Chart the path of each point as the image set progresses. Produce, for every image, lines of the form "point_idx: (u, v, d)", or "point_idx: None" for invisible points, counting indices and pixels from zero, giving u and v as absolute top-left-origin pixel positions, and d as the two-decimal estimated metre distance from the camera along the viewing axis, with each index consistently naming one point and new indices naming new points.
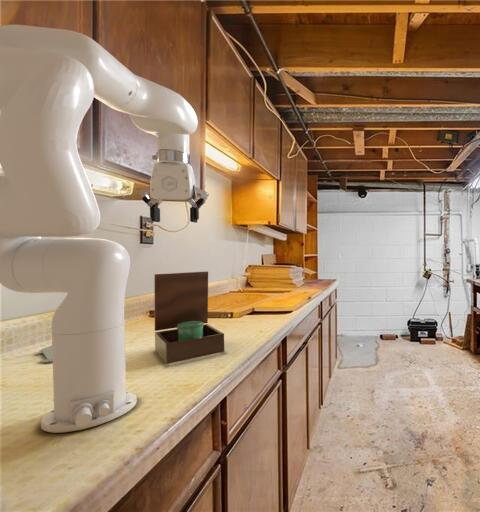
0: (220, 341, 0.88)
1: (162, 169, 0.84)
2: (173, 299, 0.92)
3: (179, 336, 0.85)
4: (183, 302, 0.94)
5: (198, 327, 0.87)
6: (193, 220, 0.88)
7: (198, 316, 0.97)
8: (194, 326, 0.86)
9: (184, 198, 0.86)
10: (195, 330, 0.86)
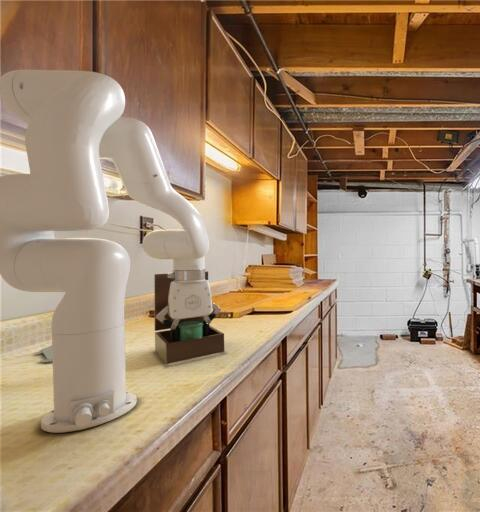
0: (220, 341, 0.88)
1: (185, 289, 0.84)
2: None
3: (179, 336, 0.85)
4: None
5: (198, 327, 0.87)
6: None
7: None
8: (194, 326, 0.86)
9: (207, 314, 0.88)
10: (195, 330, 0.86)
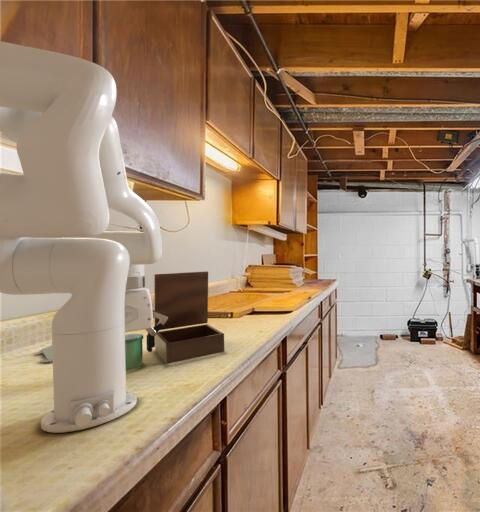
0: (220, 341, 0.88)
1: None
2: (173, 299, 0.92)
3: None
4: (183, 302, 0.94)
5: (135, 341, 0.76)
6: (151, 349, 0.80)
7: (198, 316, 0.97)
8: (129, 340, 0.75)
9: (146, 327, 0.77)
10: (131, 345, 0.75)
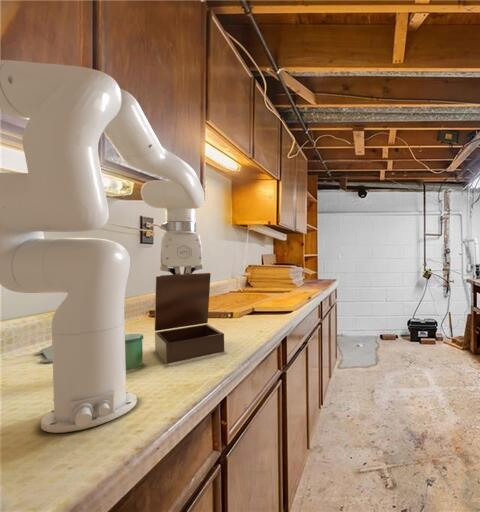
0: (220, 341, 0.88)
1: (176, 238, 0.90)
2: (174, 300, 0.91)
3: None
4: (184, 304, 0.93)
5: (135, 341, 0.76)
6: None
7: (198, 317, 0.97)
8: (129, 340, 0.75)
9: (197, 264, 0.94)
10: (131, 345, 0.75)
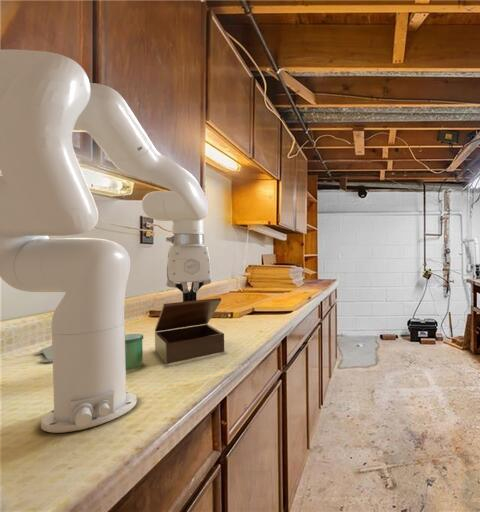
0: (220, 341, 0.88)
1: (184, 252, 0.85)
2: (179, 316, 0.87)
3: None
4: (188, 317, 0.90)
5: (135, 341, 0.76)
6: None
7: (200, 321, 0.96)
8: (129, 340, 0.75)
9: (206, 279, 0.89)
10: (131, 345, 0.75)
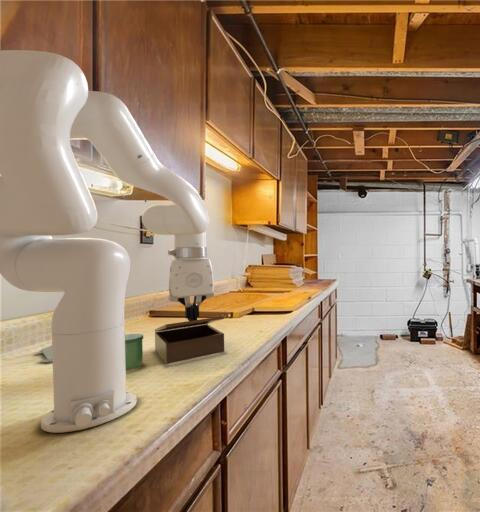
0: (220, 341, 0.88)
1: (186, 266, 0.83)
2: (180, 326, 0.87)
3: None
4: (189, 325, 0.89)
5: (135, 341, 0.76)
6: None
7: (200, 324, 0.96)
8: (129, 340, 0.75)
9: (209, 293, 0.87)
10: (131, 345, 0.75)
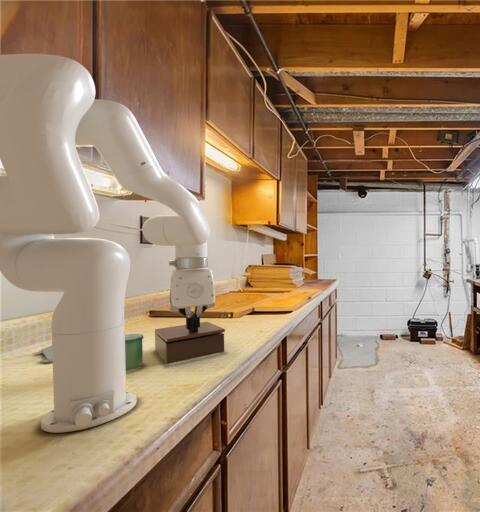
0: (220, 341, 0.88)
1: (187, 277, 0.82)
2: None
3: None
4: None
5: (135, 341, 0.76)
6: None
7: None
8: (129, 340, 0.75)
9: (210, 303, 0.86)
10: (131, 345, 0.75)
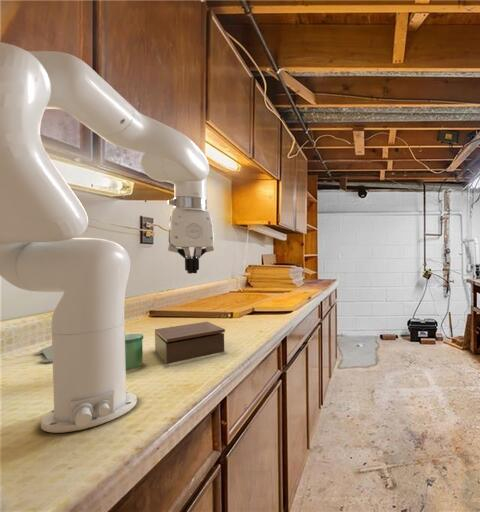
0: (220, 341, 0.88)
1: (186, 216, 0.82)
2: None
3: None
4: None
5: (135, 341, 0.76)
6: None
7: None
8: (129, 340, 0.75)
9: (209, 245, 0.86)
10: (131, 345, 0.75)
